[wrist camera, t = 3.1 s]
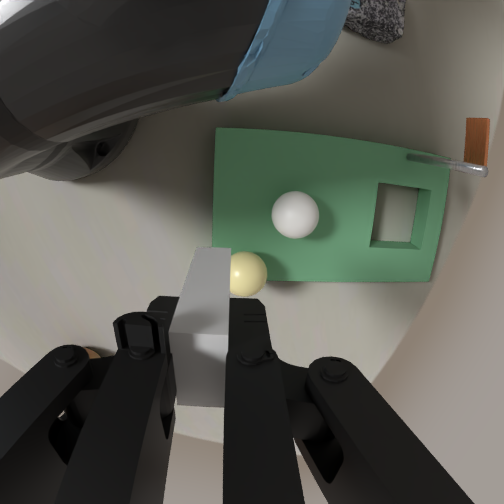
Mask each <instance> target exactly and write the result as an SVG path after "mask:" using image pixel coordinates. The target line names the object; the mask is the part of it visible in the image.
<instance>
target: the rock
mask: <svg viewBox="0 0 504 504" xmlns="http://www.w3.org/2000/svg"><path fill="white" fill-rule="evenodd" d="M405 3H406V0H351V4H350V8H349V11H348V15H347V18H346V20H345V23H344V25H345V26H348V27H349V28H350V29H351V30H352V31H354V32H358V33H360V34H362V36H364V37H366V38H368V39H371V40H374V41H378V42H381V43H391V42H393V41H394V40H396V39H399V38H401V37H402V35H403V29H404V11H405V10H404V8H405Z"/></svg>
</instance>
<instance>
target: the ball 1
mask: <svg viewBox="0 0 504 504" xmlns="http://www.w3.org/2000/svg"><path fill="white" fill-rule="evenodd" d="M266 280H267V268H266V265H265V263H264V261H263V260H262V259H261V258H260V257H259V256H258V255H256V254H254V253H252V252H248V251H242V252H237V253H235V254H233V255H231V269H230V292H231V293H233V294H235V295H237V296H241V297H248V296H252V295H254V294H256V293H258V292H259V291H260V290H261V289H262V288H263V287H264V285H265V283H266Z"/></svg>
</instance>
